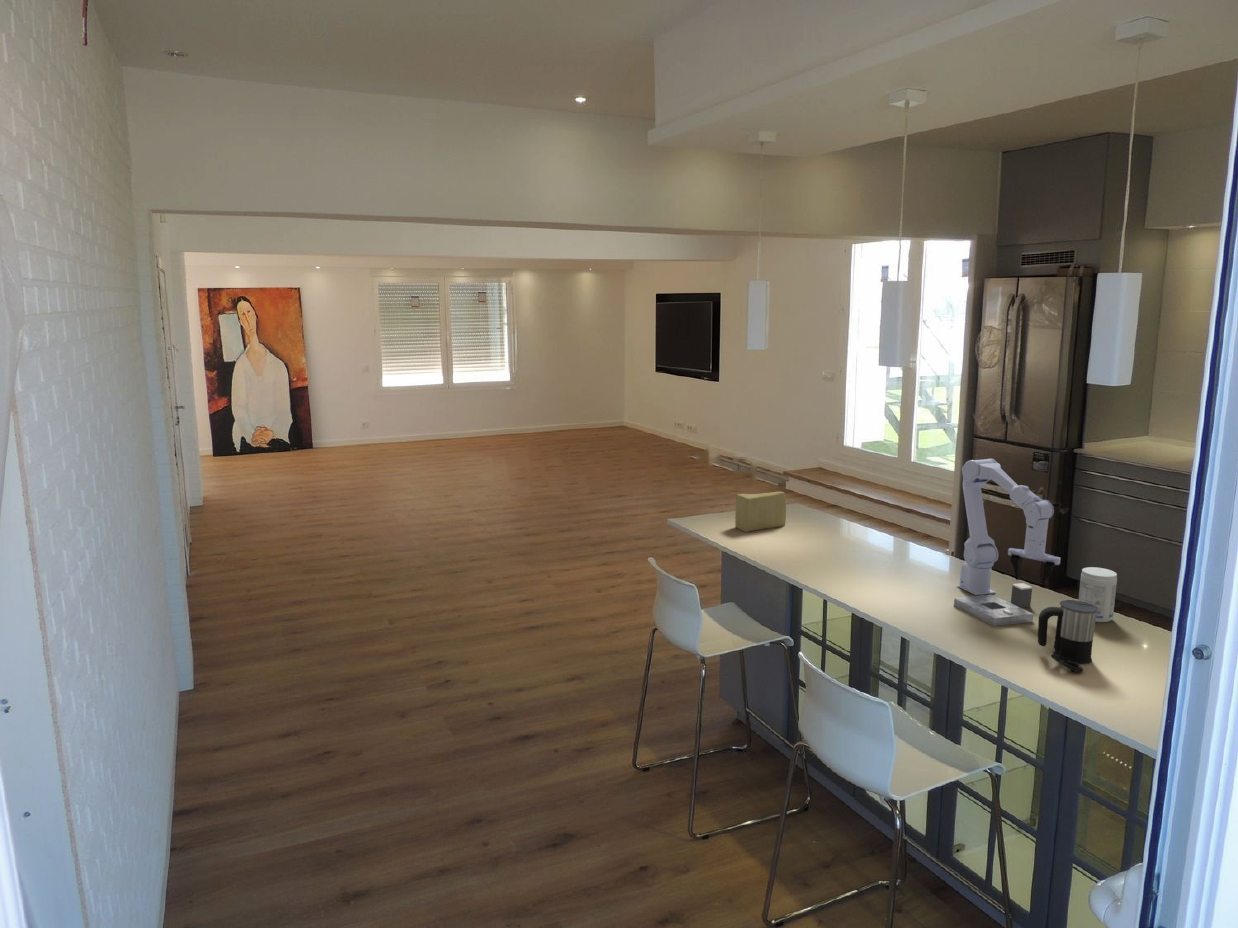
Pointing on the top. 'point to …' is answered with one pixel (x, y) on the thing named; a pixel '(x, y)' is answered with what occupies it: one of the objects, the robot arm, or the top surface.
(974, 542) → the robot arm
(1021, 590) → the plug
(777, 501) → the cheese
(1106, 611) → the supplement tub
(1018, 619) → the socket plate
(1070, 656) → the milk frother
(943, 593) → the top surface
